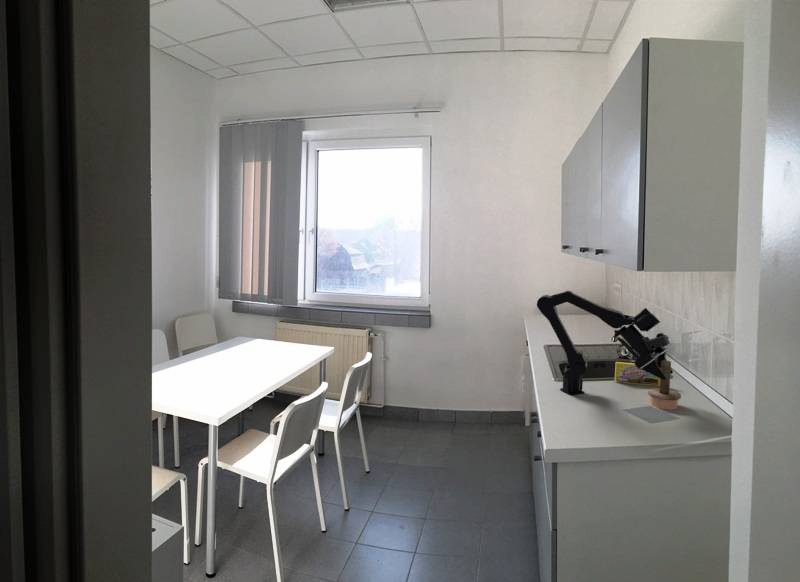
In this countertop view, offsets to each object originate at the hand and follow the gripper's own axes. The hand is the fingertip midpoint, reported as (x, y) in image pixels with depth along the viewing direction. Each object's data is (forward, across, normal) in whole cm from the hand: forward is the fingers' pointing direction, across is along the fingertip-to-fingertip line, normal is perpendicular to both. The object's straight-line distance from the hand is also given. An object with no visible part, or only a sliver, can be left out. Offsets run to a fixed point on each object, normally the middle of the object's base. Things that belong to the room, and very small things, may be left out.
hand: (668, 376), depth 158 cm
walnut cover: (+4, 0, +6) cm, 7 cm away
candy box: (-3, +21, +19) cm, 28 cm away
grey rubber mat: (+6, -12, +9) cm, 16 cm away
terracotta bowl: (+7, 0, +8) cm, 11 cm away
